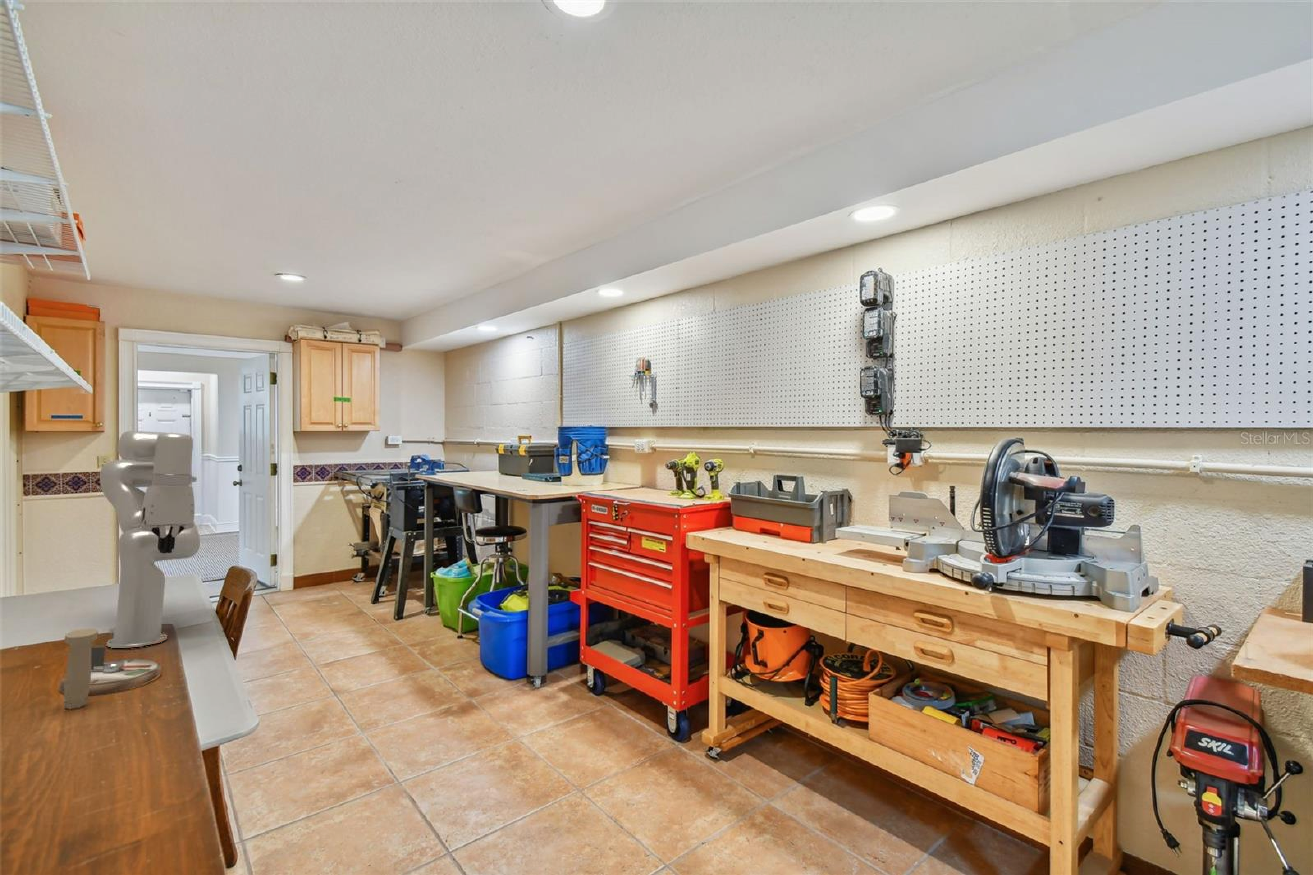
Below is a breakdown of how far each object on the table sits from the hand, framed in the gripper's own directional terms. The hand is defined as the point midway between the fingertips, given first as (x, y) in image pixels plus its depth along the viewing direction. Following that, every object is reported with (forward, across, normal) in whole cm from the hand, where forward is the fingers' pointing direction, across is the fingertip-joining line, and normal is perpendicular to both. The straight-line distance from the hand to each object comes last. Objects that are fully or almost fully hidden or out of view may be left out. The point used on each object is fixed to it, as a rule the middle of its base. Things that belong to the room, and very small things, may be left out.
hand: (165, 552), depth 151 cm
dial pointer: (+25, +11, +11) cm, 29 cm away
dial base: (+27, +11, +10) cm, 31 cm away
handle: (+27, +20, +22) cm, 40 cm away
